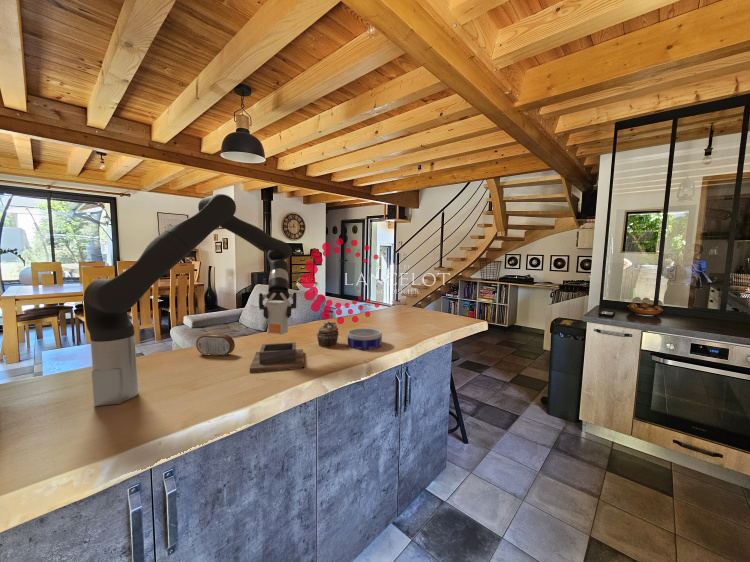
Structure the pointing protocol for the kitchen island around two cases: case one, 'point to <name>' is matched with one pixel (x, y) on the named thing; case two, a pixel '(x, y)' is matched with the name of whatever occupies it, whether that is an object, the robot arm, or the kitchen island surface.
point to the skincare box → (277, 317)
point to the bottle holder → (277, 357)
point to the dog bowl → (364, 338)
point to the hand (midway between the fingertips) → (277, 317)
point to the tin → (215, 344)
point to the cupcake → (328, 335)
